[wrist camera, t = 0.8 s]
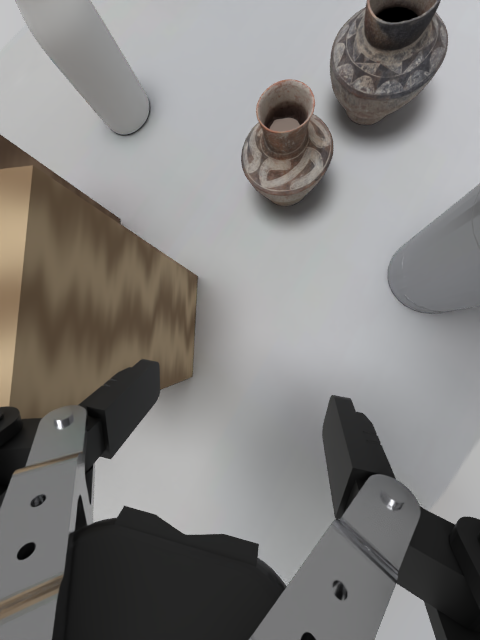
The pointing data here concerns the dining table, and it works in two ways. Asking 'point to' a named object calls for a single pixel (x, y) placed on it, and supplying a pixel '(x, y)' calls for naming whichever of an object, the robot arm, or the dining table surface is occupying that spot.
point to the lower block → (81, 298)
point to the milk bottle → (88, 59)
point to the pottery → (344, 94)
